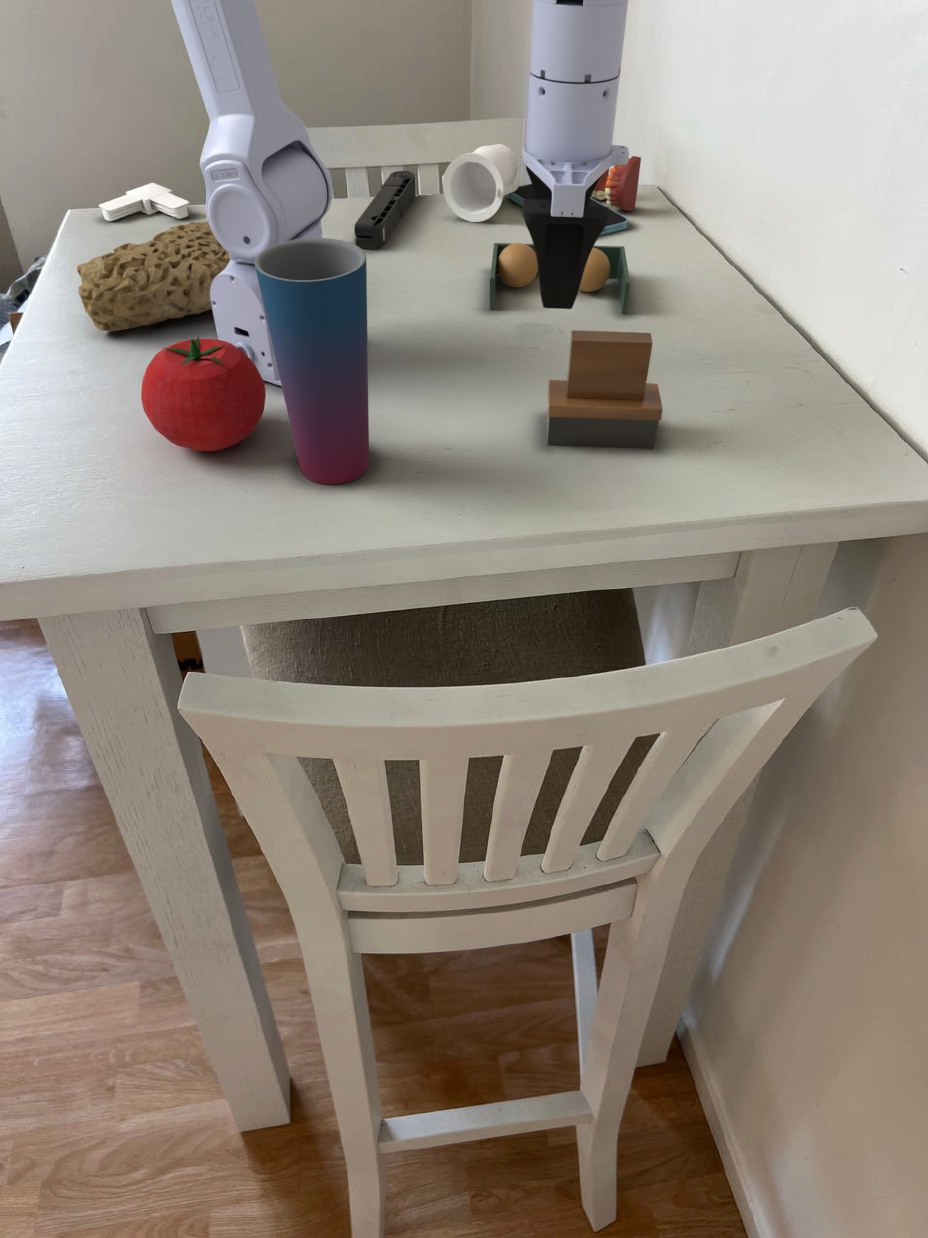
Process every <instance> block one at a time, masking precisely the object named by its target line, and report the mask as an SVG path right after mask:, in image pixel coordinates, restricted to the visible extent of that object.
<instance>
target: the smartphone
mask: <svg viewBox="0 0 928 1238" xmlns="http://www.w3.org/2000/svg"><path fill="white" fill-rule="evenodd" d="M508 198H509V199H510V200H511V201H513V202H515V203H516V204H518V205H519V206H521V207H523V200H524V199H536V197H535V193H534V189H533V186H532V183H528V184H522V185H518V188H517V190H516V191H514V192H511V193H508ZM588 207H607V206H606V205H605V204H602V203H600V202H599V201H598V200H595V199H594V198H593V197H592V198H590V200H589V203H588ZM609 213H610V217H609V220H608V222H607V225H606V227H605V228H604V230H603V231H602V233H601V234H600V236H603V235H606V234H607V235H608V234H610V233H615V232H619V231H622V230H625V229H627V227H628V223H629V222H628V221H629V219H628V218H627V217H626V216H624V215H623V214H621V213H619V212H617V211H616V210H613V209H612V208H610V207H609Z"/></svg>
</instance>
